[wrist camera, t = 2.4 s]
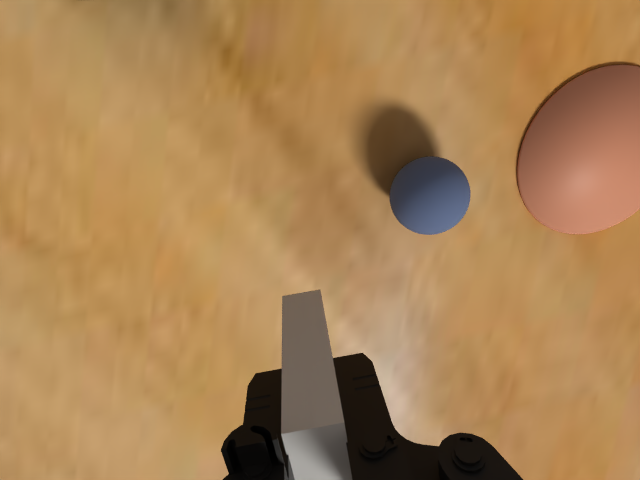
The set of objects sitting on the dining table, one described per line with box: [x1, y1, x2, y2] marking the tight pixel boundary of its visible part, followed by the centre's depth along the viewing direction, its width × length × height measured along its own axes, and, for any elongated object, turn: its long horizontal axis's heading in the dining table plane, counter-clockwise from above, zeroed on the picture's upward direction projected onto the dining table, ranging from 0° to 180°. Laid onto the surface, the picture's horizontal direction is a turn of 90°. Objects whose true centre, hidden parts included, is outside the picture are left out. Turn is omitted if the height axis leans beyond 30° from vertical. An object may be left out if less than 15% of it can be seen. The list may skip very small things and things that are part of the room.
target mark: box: [517, 65, 640, 234], centre depth 31 cm, size 13×13×1 cm
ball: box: [390, 156, 470, 235], centre depth 28 cm, size 6×6×6 cm
